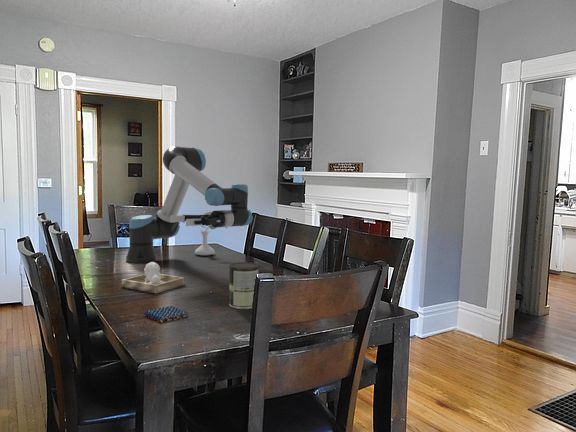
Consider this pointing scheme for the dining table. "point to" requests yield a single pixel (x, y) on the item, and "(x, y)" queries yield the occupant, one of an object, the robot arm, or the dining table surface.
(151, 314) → the woven mat
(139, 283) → the birch tray
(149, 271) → the white rounded lump
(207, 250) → the flower in vase
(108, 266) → the dining table surface
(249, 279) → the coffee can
